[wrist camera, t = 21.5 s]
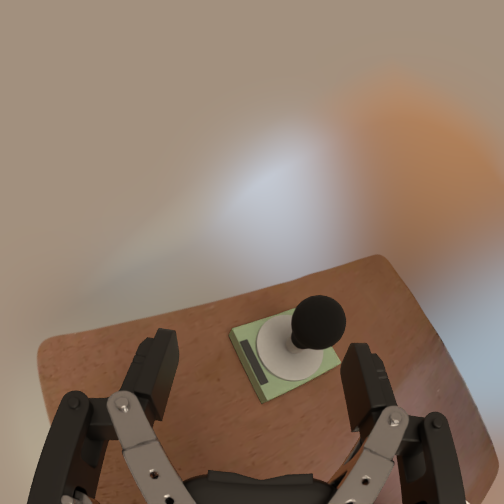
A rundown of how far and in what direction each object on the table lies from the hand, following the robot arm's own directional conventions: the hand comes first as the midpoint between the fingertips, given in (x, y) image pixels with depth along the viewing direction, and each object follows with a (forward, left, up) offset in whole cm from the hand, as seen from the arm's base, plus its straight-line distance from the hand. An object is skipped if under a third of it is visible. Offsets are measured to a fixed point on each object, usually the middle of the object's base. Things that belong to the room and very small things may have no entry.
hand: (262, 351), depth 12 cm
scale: (+4, +13, -22) cm, 25 cm away
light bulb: (+4, +13, -19) cm, 23 cm away
